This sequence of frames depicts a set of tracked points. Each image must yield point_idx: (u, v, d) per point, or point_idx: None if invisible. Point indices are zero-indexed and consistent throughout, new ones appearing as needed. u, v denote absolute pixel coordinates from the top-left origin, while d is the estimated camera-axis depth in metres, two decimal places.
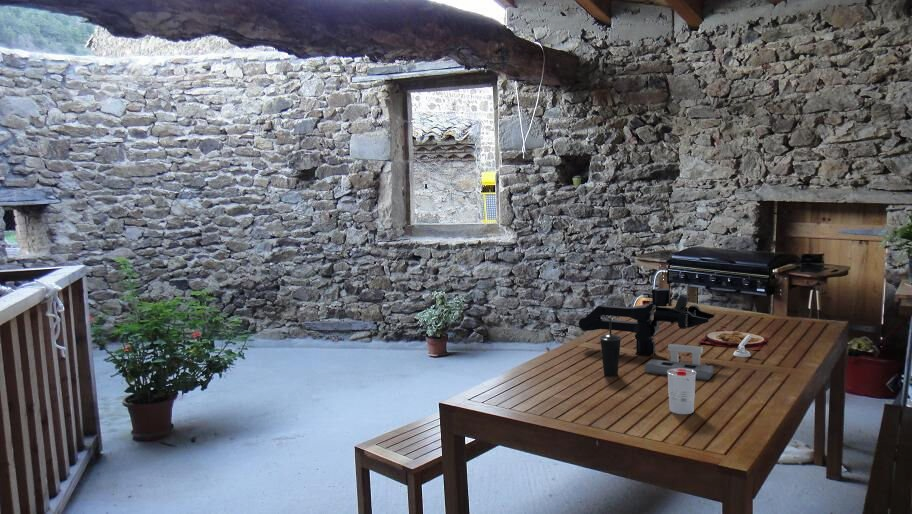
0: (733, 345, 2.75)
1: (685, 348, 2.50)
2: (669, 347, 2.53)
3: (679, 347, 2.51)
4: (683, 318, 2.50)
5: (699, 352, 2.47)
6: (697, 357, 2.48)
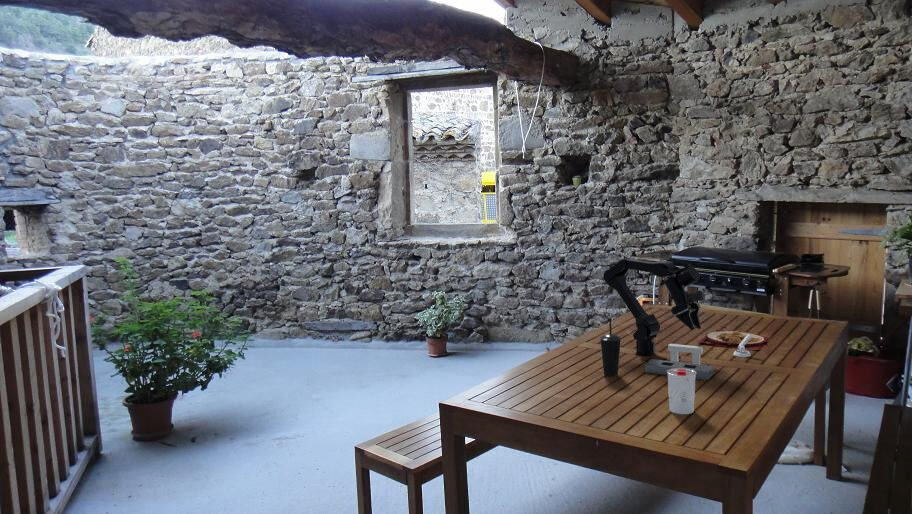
0: (733, 345, 2.75)
1: (685, 348, 2.50)
2: (669, 347, 2.53)
3: (679, 347, 2.51)
4: (681, 308, 2.45)
5: (699, 352, 2.47)
6: (697, 357, 2.48)
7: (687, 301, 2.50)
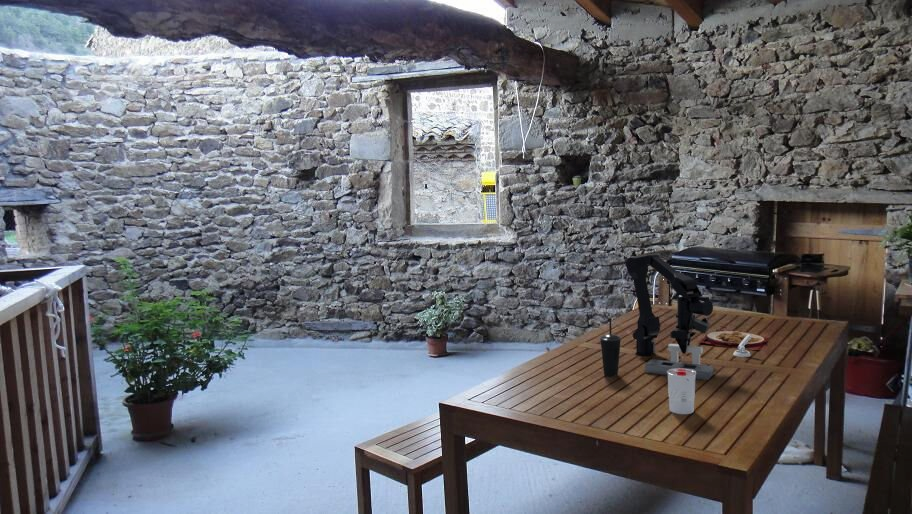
0: (733, 345, 2.75)
1: None
2: (669, 347, 2.53)
3: (679, 347, 2.51)
4: (681, 336, 2.42)
5: (699, 352, 2.47)
6: (697, 357, 2.48)
7: (690, 327, 2.46)
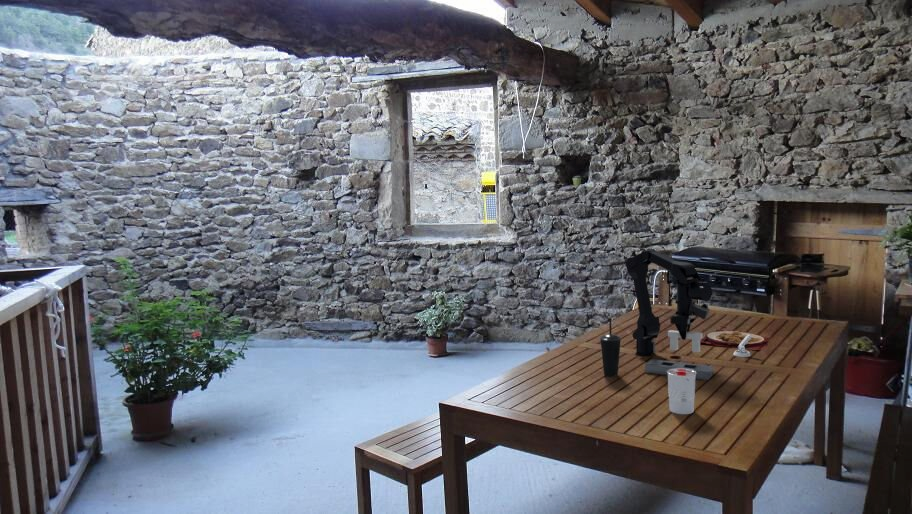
0: (733, 345, 2.75)
1: None
2: (669, 333, 2.51)
3: None
4: (681, 322, 2.40)
5: (699, 338, 2.45)
6: (697, 343, 2.46)
7: (689, 313, 2.45)
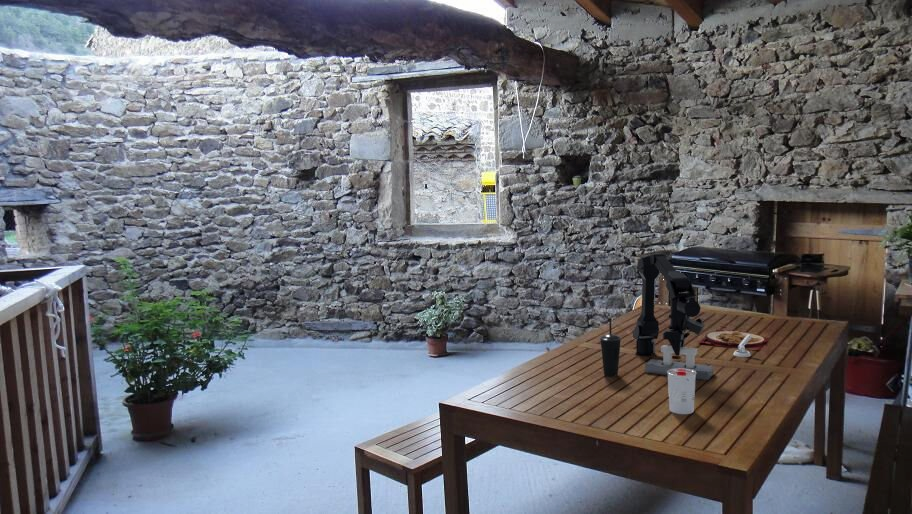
0: (733, 345, 2.75)
1: None
2: (662, 349, 2.41)
3: (672, 349, 2.39)
4: (674, 338, 2.31)
5: (693, 354, 2.35)
6: (691, 359, 2.36)
7: (683, 328, 2.35)
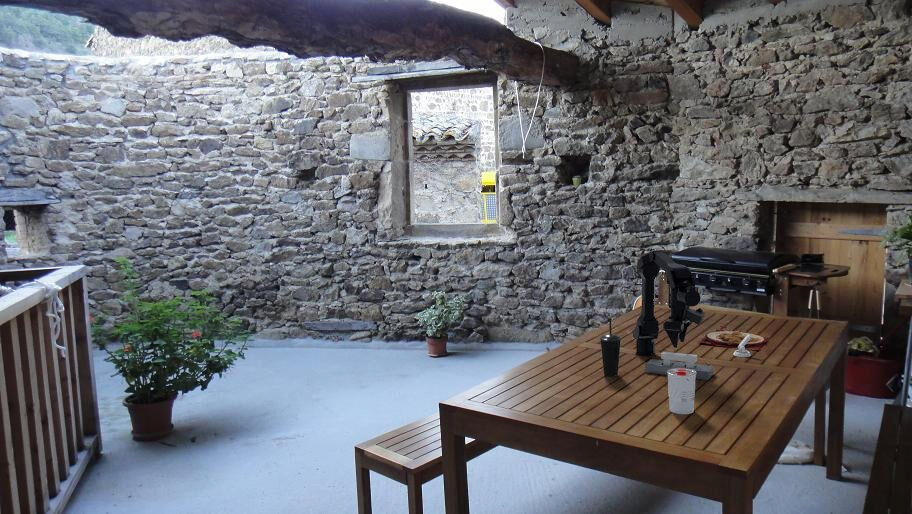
0: (733, 345, 2.75)
1: (679, 356, 2.38)
2: (662, 355, 2.41)
3: (672, 355, 2.39)
4: (674, 327, 2.30)
5: (693, 361, 2.36)
6: (691, 366, 2.36)
7: (683, 318, 2.34)
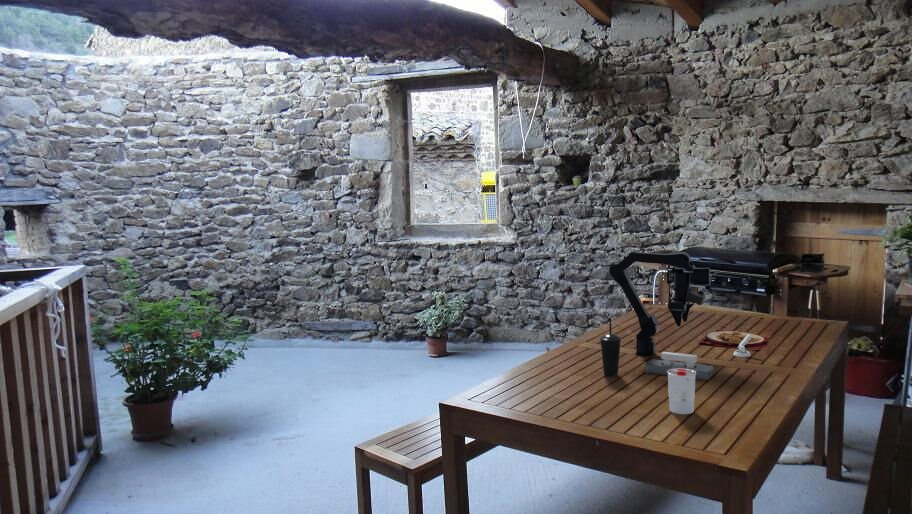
0: (733, 345, 2.75)
1: (679, 356, 2.38)
2: (662, 355, 2.41)
3: (672, 355, 2.39)
4: (678, 308, 2.52)
5: (693, 361, 2.36)
6: (691, 366, 2.36)
7: (686, 299, 2.57)
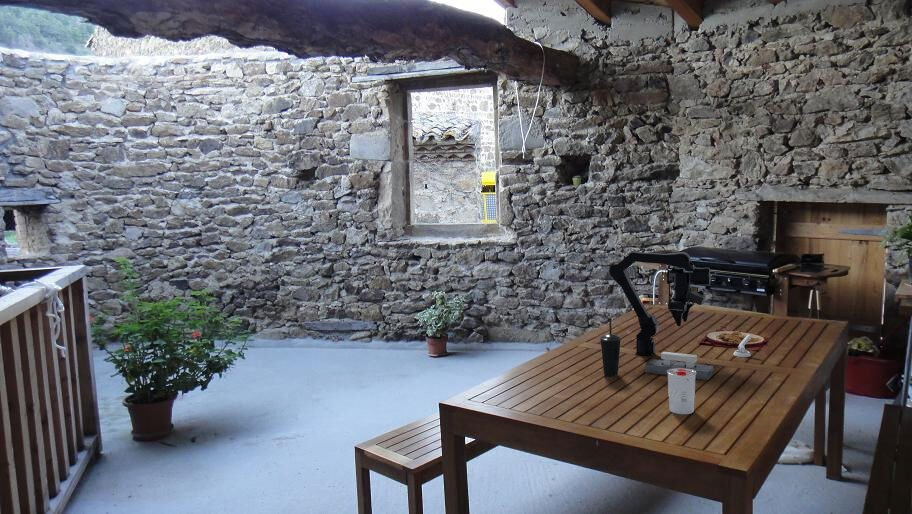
0: (733, 345, 2.75)
1: (679, 356, 2.38)
2: (662, 355, 2.41)
3: (672, 355, 2.39)
4: (678, 307, 2.52)
5: (693, 361, 2.36)
6: (691, 366, 2.36)
7: (686, 299, 2.57)
